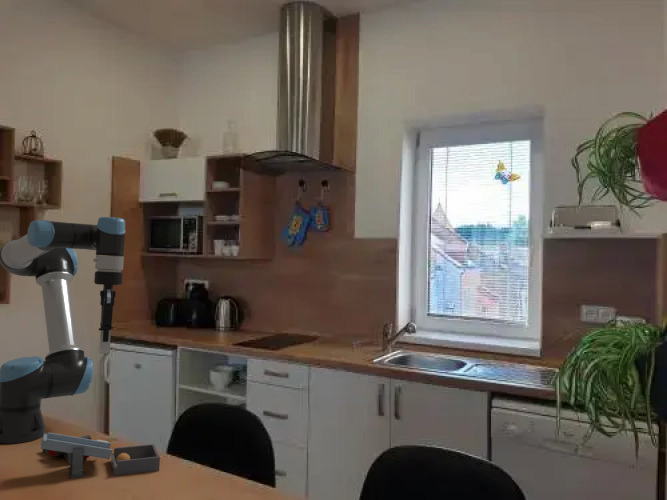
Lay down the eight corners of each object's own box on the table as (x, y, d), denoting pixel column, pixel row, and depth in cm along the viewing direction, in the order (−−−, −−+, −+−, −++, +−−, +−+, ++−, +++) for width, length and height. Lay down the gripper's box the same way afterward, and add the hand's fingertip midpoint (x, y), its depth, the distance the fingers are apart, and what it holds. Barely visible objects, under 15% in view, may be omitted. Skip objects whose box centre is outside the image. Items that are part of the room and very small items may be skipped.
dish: (111, 460, 154) (111, 448, 154) (153, 456, 159) (154, 444, 159) (114, 475, 144) (114, 461, 144) (159, 470, 149) (159, 457, 149)
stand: (70, 466, 148) (71, 439, 149) (82, 465, 150) (84, 438, 150) (70, 478, 141) (71, 449, 141) (83, 477, 142) (84, 448, 142)
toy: (36, 464, 156) (69, 465, 148) (35, 441, 157) (68, 441, 149) (65, 455, 163) (98, 456, 156) (64, 434, 164) (97, 433, 157)
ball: (126, 466, 152) (113, 462, 151) (131, 453, 153) (118, 449, 151) (127, 470, 149) (114, 467, 147) (133, 457, 149) (119, 454, 148)
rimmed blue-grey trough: (42, 434, 150) (45, 425, 150) (106, 444, 157) (109, 436, 157) (40, 448, 139) (43, 439, 139) (109, 459, 146) (112, 450, 146)
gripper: (93, 269, 166) (89, 349, 165) (95, 271, 154) (91, 356, 154) (120, 270, 169) (116, 348, 169) (124, 272, 157) (120, 356, 157)
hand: (104, 352), depth 161 cm, fingers closed
